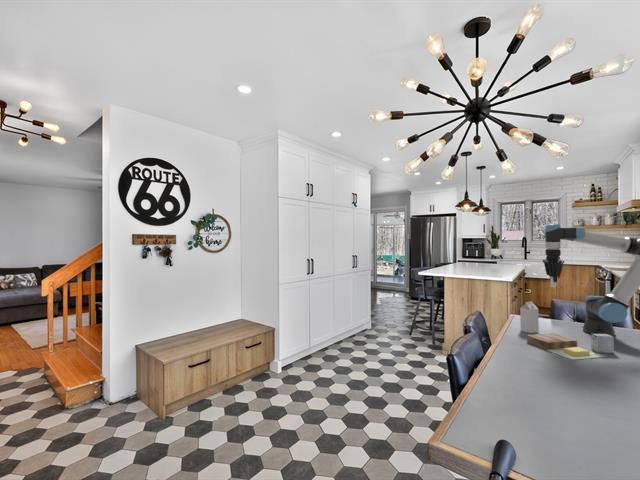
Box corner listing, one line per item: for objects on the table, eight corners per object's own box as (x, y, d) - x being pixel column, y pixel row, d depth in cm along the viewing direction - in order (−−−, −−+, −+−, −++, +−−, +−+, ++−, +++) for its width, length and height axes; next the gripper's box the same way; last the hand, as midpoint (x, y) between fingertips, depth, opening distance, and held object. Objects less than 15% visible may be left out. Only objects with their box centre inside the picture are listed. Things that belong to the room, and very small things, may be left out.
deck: (554, 340, 184) (553, 333, 184) (577, 347, 170) (577, 340, 170) (527, 341, 181) (526, 335, 181) (548, 350, 167) (548, 342, 167)
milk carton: (520, 330, 203) (520, 301, 203) (527, 329, 206) (526, 300, 206) (531, 333, 197) (531, 303, 197) (538, 332, 200) (538, 302, 200)
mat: (578, 347, 170) (578, 347, 170) (606, 357, 156) (606, 356, 156) (546, 350, 167) (546, 349, 167) (571, 360, 153) (571, 359, 153)
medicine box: (607, 350, 166) (606, 333, 166) (614, 353, 161) (613, 336, 161) (591, 349, 167) (590, 333, 167) (597, 352, 162) (597, 336, 162)
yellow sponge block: (589, 350, 159) (589, 354, 159) (578, 346, 165) (578, 350, 165) (574, 352, 157) (574, 356, 157) (563, 348, 163) (563, 351, 163)
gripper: (538, 248, 200) (539, 285, 200) (557, 249, 187) (557, 288, 187) (548, 248, 201) (549, 285, 201) (568, 249, 188) (568, 288, 188)
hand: (553, 287), depth 194 cm, fingers closed
